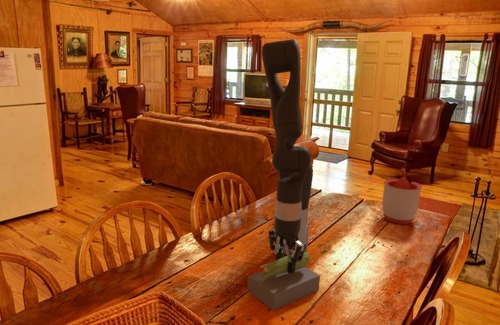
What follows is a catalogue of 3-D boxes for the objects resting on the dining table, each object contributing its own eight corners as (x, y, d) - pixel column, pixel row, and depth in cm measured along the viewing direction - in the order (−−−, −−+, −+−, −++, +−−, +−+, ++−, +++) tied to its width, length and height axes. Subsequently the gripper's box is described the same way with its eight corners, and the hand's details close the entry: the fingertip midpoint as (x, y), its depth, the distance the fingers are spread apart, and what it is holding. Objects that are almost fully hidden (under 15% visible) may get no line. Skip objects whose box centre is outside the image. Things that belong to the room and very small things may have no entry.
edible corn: (316, 255, 122) (306, 245, 125) (261, 273, 111) (252, 262, 115) (312, 267, 124) (303, 257, 128) (257, 286, 114) (249, 275, 117)
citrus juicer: (420, 217, 186) (426, 175, 181) (412, 229, 171) (419, 184, 166) (385, 210, 194) (390, 169, 189) (375, 221, 179) (380, 177, 174)
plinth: (291, 273, 132) (292, 259, 130) (318, 290, 123) (320, 275, 121) (247, 291, 121) (248, 275, 120) (273, 310, 112) (274, 294, 111)
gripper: (315, 220, 113) (311, 275, 117) (280, 205, 124) (278, 256, 128) (296, 225, 108) (292, 283, 112) (261, 209, 119) (259, 262, 123)
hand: (284, 268), depth 120 cm, fingers closed on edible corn, 4 cm apart
